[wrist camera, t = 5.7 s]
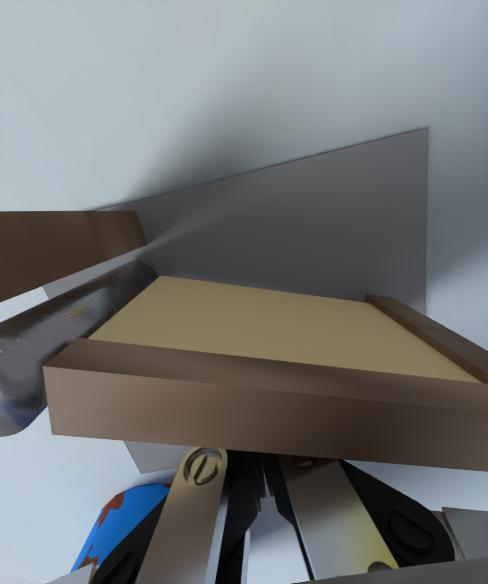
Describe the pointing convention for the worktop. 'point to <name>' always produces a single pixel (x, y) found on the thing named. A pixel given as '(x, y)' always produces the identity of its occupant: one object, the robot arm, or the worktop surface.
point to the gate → (246, 372)
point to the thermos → (119, 522)
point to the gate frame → (247, 237)
